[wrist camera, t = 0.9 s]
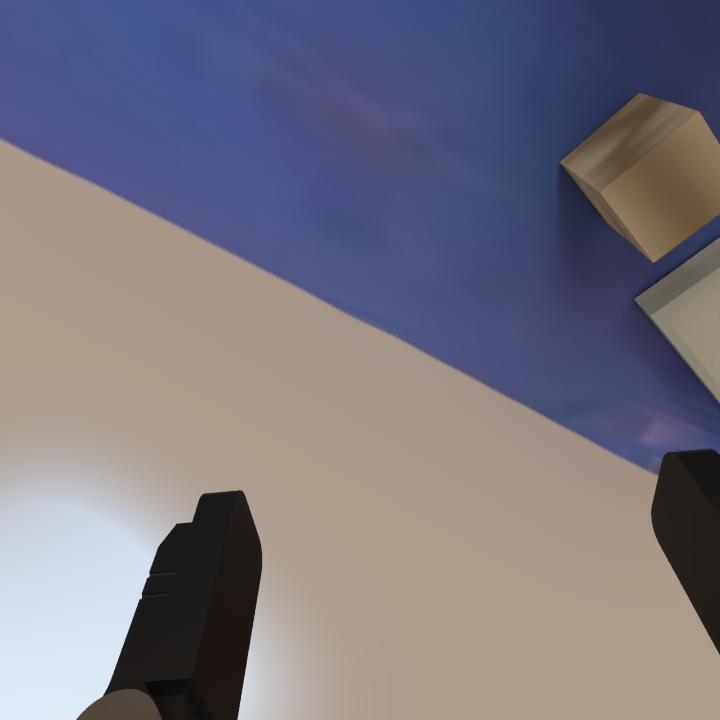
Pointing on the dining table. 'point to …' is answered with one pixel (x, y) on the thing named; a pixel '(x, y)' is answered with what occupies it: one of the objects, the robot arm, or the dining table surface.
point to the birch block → (651, 173)
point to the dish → (691, 313)
